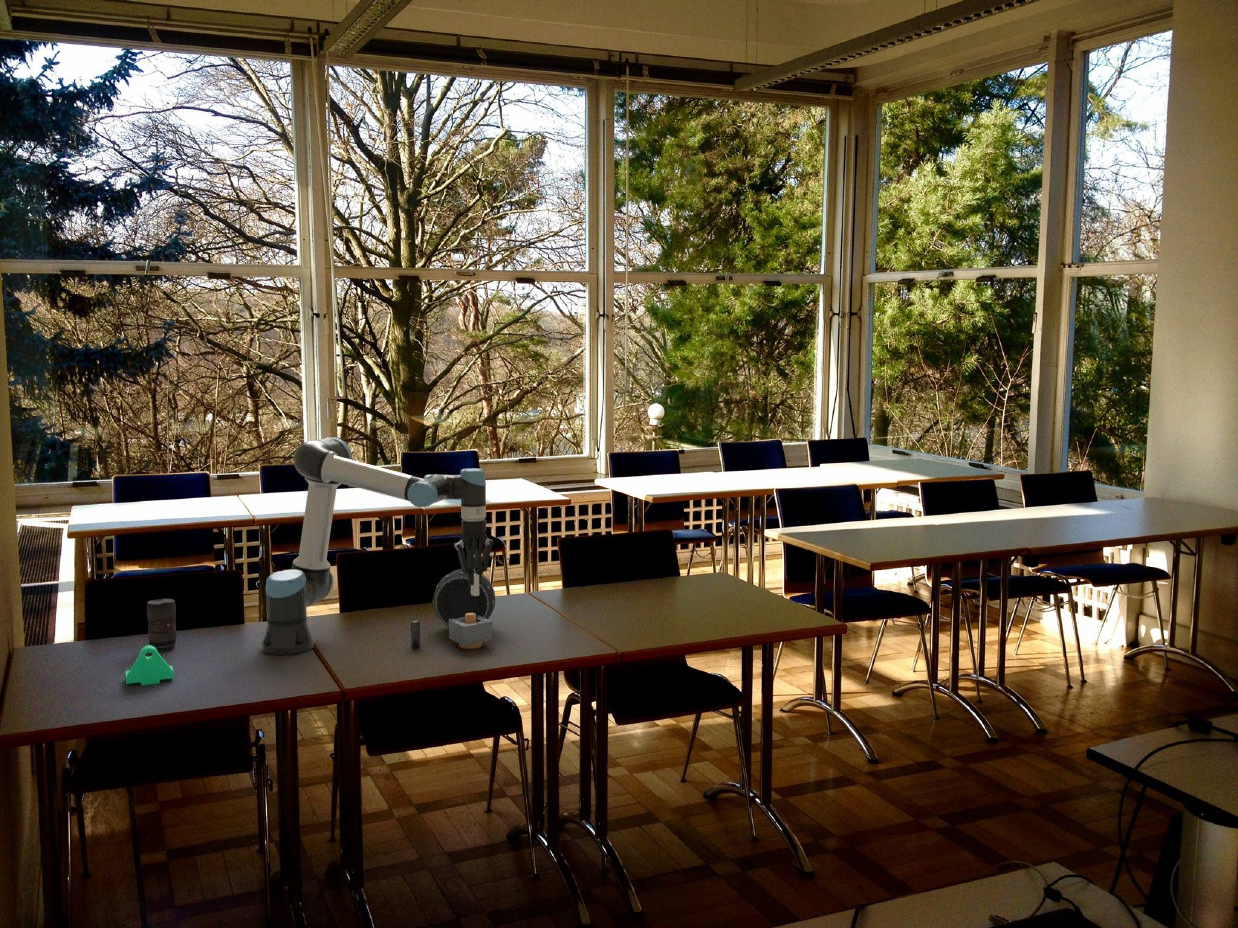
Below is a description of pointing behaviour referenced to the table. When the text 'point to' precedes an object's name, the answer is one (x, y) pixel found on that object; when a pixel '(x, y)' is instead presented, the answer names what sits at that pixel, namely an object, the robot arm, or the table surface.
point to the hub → (468, 619)
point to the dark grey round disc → (462, 597)
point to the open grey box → (470, 631)
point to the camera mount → (149, 668)
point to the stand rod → (415, 634)
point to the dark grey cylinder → (162, 624)
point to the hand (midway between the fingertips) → (475, 594)
